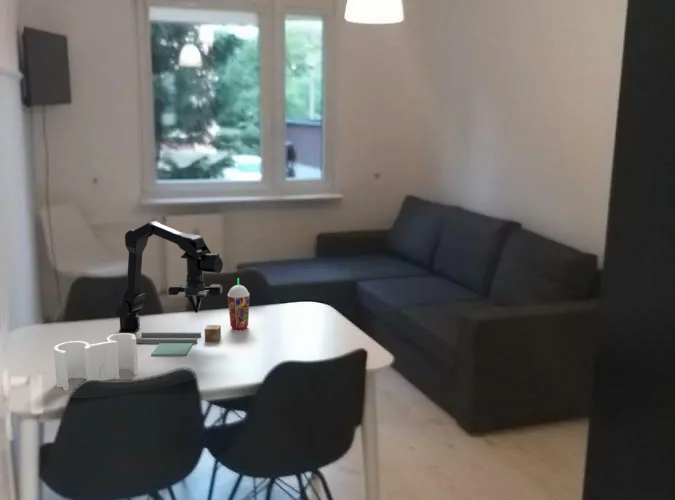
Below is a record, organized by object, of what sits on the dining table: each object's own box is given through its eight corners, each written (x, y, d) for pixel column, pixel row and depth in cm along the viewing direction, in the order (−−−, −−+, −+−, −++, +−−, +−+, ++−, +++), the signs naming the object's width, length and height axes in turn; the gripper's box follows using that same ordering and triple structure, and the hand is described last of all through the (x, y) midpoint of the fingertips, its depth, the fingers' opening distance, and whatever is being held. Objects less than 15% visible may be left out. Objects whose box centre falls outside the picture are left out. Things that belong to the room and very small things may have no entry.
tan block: (204, 342, 271) (204, 329, 270) (207, 338, 276) (207, 325, 275) (218, 342, 271) (218, 329, 270) (220, 338, 276) (220, 325, 275)
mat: (151, 355, 256) (151, 354, 256) (159, 344, 268) (159, 343, 268) (185, 356, 256) (185, 354, 256) (192, 344, 268) (192, 343, 268)
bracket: (131, 366, 247) (129, 330, 244) (141, 374, 239) (139, 338, 237) (53, 381, 233) (50, 344, 230) (61, 391, 225) (58, 353, 223)
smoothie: (248, 331, 283) (247, 280, 279) (226, 331, 283) (225, 280, 280) (251, 325, 291) (250, 275, 288) (230, 325, 292) (229, 275, 288)
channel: (136, 343, 270) (135, 339, 270) (142, 336, 278) (142, 332, 278) (196, 343, 270) (196, 339, 269) (201, 336, 278) (200, 332, 278)
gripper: (163, 275, 261) (165, 318, 264) (216, 275, 261) (218, 318, 264) (171, 268, 272) (172, 310, 275) (222, 269, 272) (223, 310, 275)
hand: (196, 312), depth 272 cm, fingers closed
